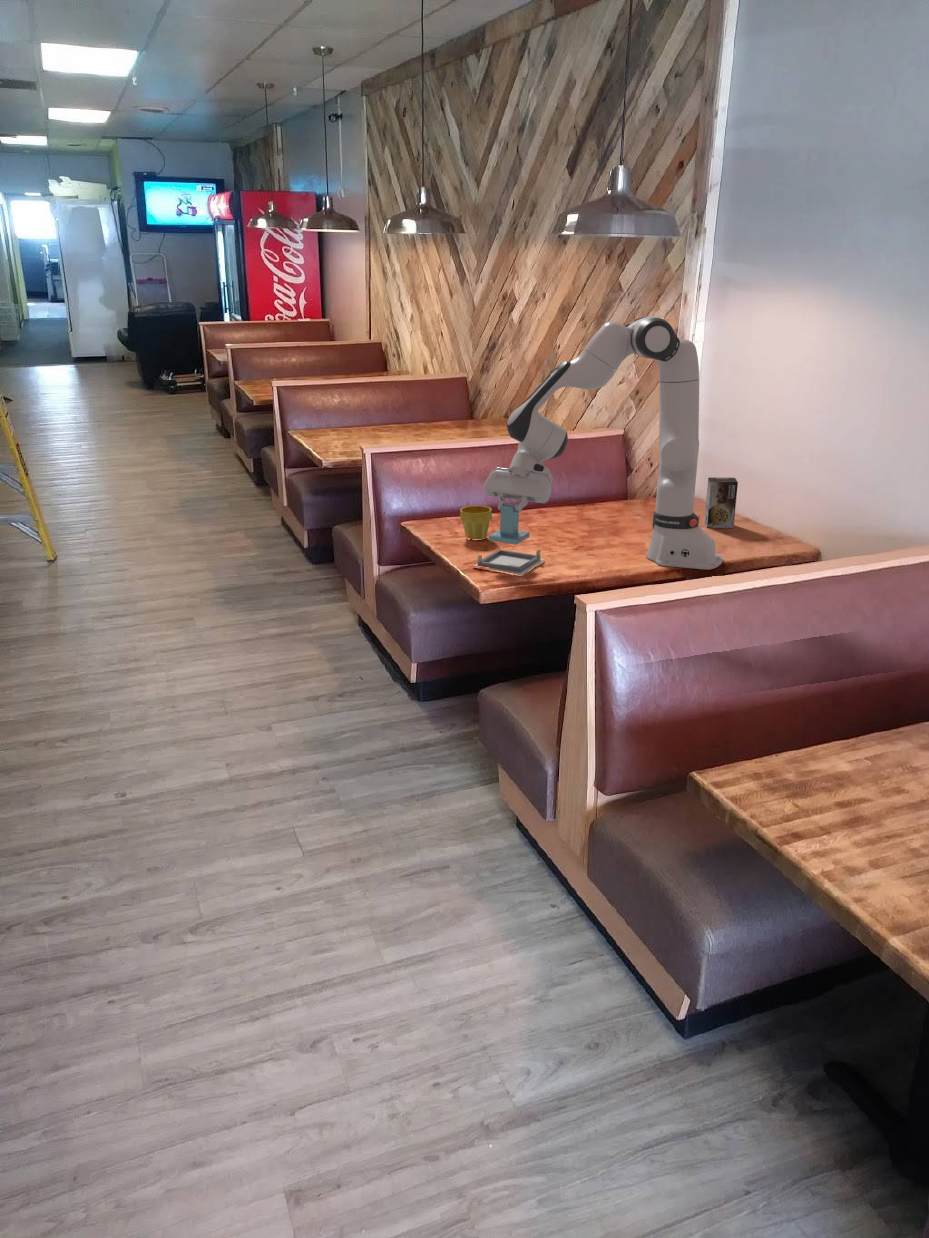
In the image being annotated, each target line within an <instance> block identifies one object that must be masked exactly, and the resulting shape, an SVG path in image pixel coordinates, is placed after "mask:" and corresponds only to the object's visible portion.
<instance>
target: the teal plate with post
mask: <svg viewBox="0 0 929 1238" xmlns="http://www.w3.org/2000/svg"><path fill="white" fill-rule="evenodd" d="M515 506H516V504H515V503H504V505H502V506H501V510H500V516H499V517H500V519H499V521H500V524H499V526H500V527H499V529H498V530H496V531H494V532H492V533H491V534H489V535H488V541H489V542H496V543H502V544H509V545H515V546H516V545H518V544H521V543H522V542H523V541H526V540H527V539H529V538H530V535H531V533H530V532H529V531H525V530H519V521H520V519H519V517H520V513H518V512H515V510H514V509H515Z"/></svg>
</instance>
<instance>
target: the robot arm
mask: <svg viewBox="0 0 929 1238" xmlns="http://www.w3.org/2000/svg"><path fill="white" fill-rule="evenodd" d="M633 354H634V355H637V356H639V357H642V358H645V359H651V360H655V361H656V362H657V365H658V369H659V421H658V423H659V425H658V428H659V430H658V455H659V456H658V457H659V465H658V476H657V485H656V496H655V509H654V510H653V516H652V523H651V524H652V534H651V540H650V544H649V546H648V549H647V552H646V557H647V558H648V559H649V560H650V561H653V562H654V563H655V564H657V565H658V566H664V567H673V568H674V567H675V568H676V567H677V568H685V569H697V570H713V569H716V568H718V567H720V566H721V565H722V563H723V561H724V560H723V555H721V554H719V553H717V552H716V549H717V548H716V543H715V540H714V538H712V537H711V536H710V535H709V534H708V533H707V532H706V531H705V530H703V529H702V528H701V527H700V526H699V523H700V520H701V515H700V514H699V515H697V514H696V513H695V512H694V507H695V506H694V505H695V504H694V503H695V496H696V495H695V493H696V484H697V482H696V481H697V472H698V471H697V470H698V460H699V451H700V450H699V449H700V448H699V447H700V439H699V436H700V435H699V425H700V422H699V421H700V366H699V357H698V351H697V347H696V345H695V344H694V342H692V341H691V340H688V339H684V338H679V337H678V335H677V334H676V332H675V329H674V328H673V326H672V325H671V324H670V323H669V321H667V320H665V319H663V318H660V317H659V316H654V315H649V316H643V317H639V318H637V319H635V320H633V321H631V322H629V323H628V324H626V325H624V324H622V323H620V322H619V321H618V322H617V321H607V322H606V323H604V324H603V325H602V326H601V327H600V328H599V329H598V330H597V331H596V332H595V334H594V335H593V336H592V337H591V338H590V339H589V341H588V343H587V344H586V346H585V347H584V348H583V350H582V351H581V352H580V354H579V355H577V356H576V357H574V358H573V359H572V360H569V361H568V360H565V361H564V360H563V362H560V363H559V364H558V365H557V366H556V367H555V368H554V369H553V370H552V371H550V373H549V374H548V375H547V376H546V377H545V378H544V380H543V381H542V382H541V383H539V385H538V386H537V387H536V388H535V389H534V390H533V392H532V393H531V394H530V395H529V396H528V397H527V398H526V399H525V400H524V401H523V402H522V403H521V404H520V405H519V406H517V408H515V410H513V411H512V413H511V414H510V416H509V417H508V418H507V422H506V429H507V432H508V435H509V437H510V438H512V439H513V440H515V441H517V442H518V444H517V451H516V453H515V454H514V456H513V457H512V460H511V463H510V465H509V467H508V468H507V467H501V466H500V467H497V466H496V468H493V469H491V471H490V473H489V475H488V477H487V479H486V480H485V483H484V484H483V491H484V493H485V494H486V496H487V497H495V498H497V500H498V504H497V509H498V510H499V511H501V506H502V505H504V504H505V503H504V502H503V501H505V500H506V499H510V500H517V501H521V502H519V504H515V505H516V506H515V509H514V510H515V512H518V513H519V514H521V513H522V510H523V509H524V508H525V507H526V506H527V505H529V504H528V503H529V502H532V503H540V504H546V503H547V502H548V501H549V500H550V497H551V492H552V483H553V481H554V478H553V475H552V473H551V471H550V469H549V468H548V467H547V466H546V465H544V464H543V462H544V461H550V460H555V459H557V458H559V457H560V456H562V455H563V454H564V451H565V450H566V448H567V446H568V443H569V437H568V432H567V430H566V429H565V428H563V427H562V426H560V424H558V423H556V422H555V421H552V420H550V419H549V418H547V417H546V416H544V415H543V414H542V413H540V412H539V410H540V409H541V408H542V407H543V406H544V405H545V404H546V403H547V401H548V400H549V399H550V398H551V397H552V396H553V395H554V394H555V392H556V391H558V390H560V389H562V388H566V387H567V388H568V387H569V388H575V389H581V390H586V391H587V390H589V391H592V390H599V389H601V388H603V387H605V386H606V385H607V384H608V383H609V382H610V380H612V378H613V376H614V375H615V373H616V372H617V371H618V369H619V367H620V366H621V365H622V362H624V360H625V359H626V358H627V357H629V356H630V355H633Z"/></svg>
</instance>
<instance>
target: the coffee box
mask: <svg viewBox="0 0 929 1238" xmlns="http://www.w3.org/2000/svg"><path fill="white" fill-rule="evenodd" d="M738 485H739V482H738V480H737V478H736V477H708V478H707V487H706V490H707V491H706V500H705V501H706V502H705V510H704V511H705V512H704V522H703V523H704V525H705V528H707V527H710V528H709V529H734V527H735V517H736V506H737V494H738Z"/></svg>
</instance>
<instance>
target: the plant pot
mask: <svg viewBox="0 0 929 1238" xmlns="http://www.w3.org/2000/svg"><path fill="white" fill-rule="evenodd" d="M492 510H493V509H492V508H491V507H489V506H485V505H468V506H463V507H461V508H460V510H459V518H460V521H461V522H462V525H463V529H464V533H465V534H464V535H465V538H466V537H467V538H470V539H483V538H486V537H488V532H489V528H490V522H491V520H492V518H493V516H492V515H493V511H492ZM467 538H466V539H467ZM486 539H487V538H486Z"/></svg>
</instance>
